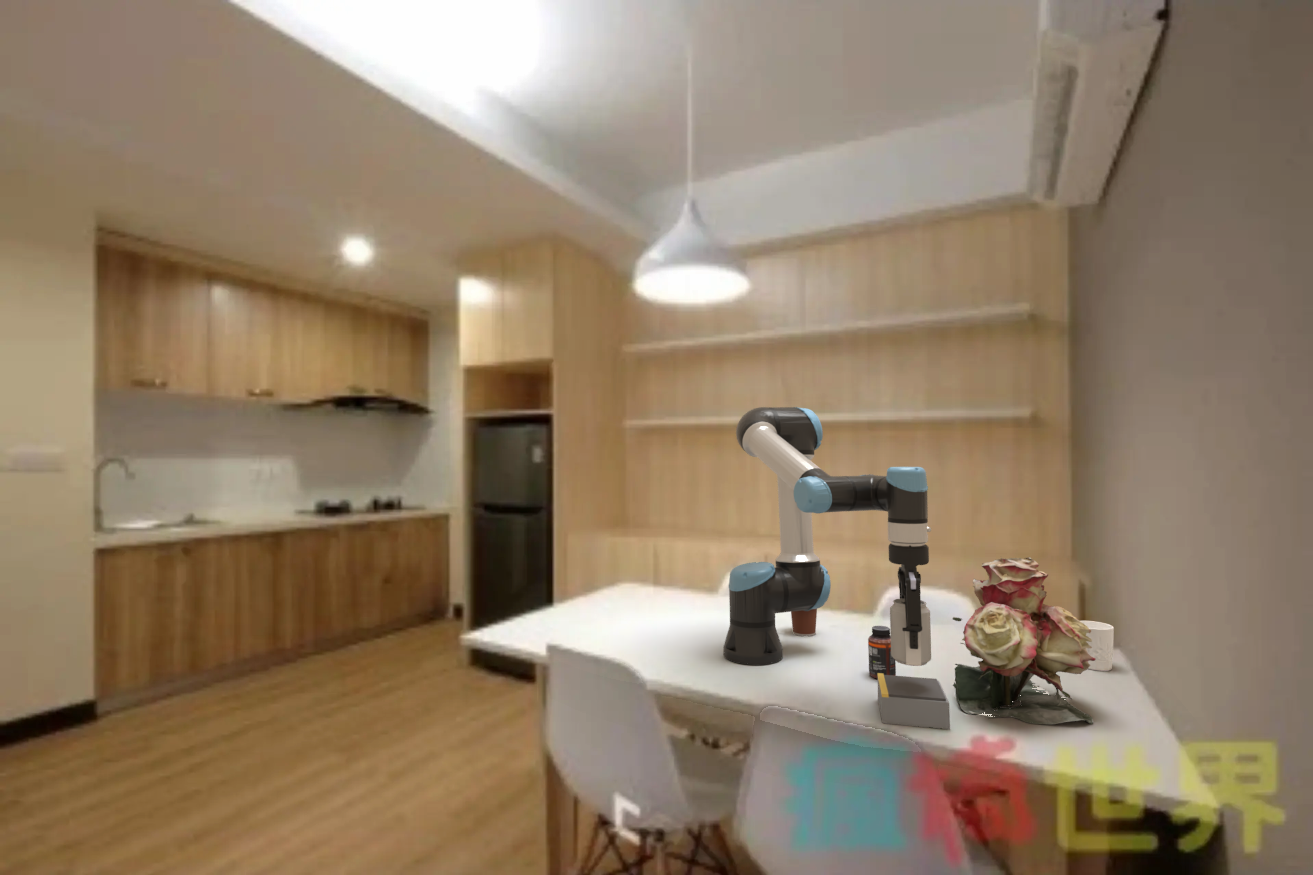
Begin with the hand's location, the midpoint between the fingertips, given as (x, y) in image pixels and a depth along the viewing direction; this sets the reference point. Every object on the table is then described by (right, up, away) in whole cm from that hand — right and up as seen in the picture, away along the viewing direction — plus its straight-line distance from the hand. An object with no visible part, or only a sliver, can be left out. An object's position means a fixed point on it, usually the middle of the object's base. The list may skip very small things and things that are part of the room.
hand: (911, 657), depth 127 cm
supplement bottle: (+2, -12, +21) cm, 24 cm away
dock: (0, -11, 0) cm, 11 cm away
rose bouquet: (+25, -11, +5) cm, 28 cm away
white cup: (+55, -11, +26) cm, 62 cm away
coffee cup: (-8, -13, +57) cm, 59 cm away
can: (0, -1, 0) cm, 1 cm away
